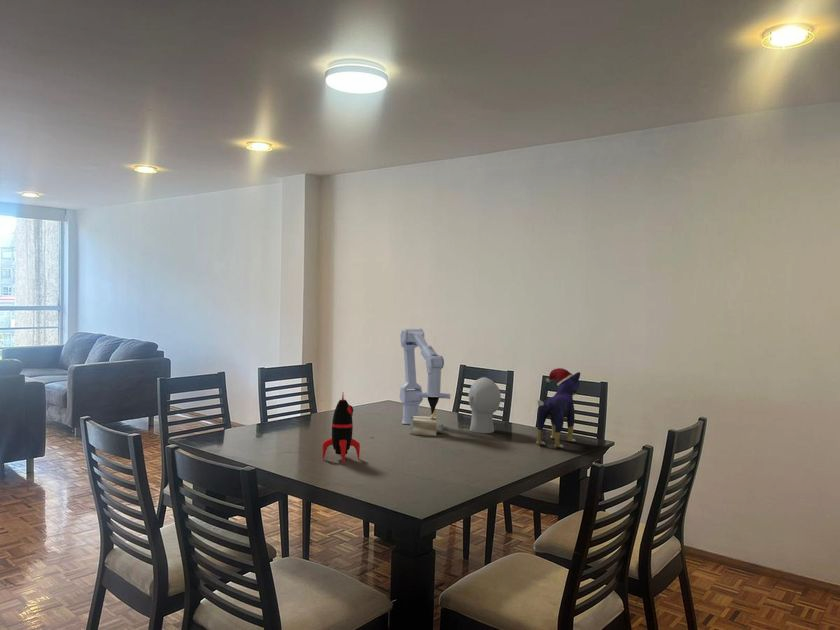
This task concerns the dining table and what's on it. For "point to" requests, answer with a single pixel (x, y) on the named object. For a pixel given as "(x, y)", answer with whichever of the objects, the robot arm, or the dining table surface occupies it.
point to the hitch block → (424, 425)
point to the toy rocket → (342, 430)
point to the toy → (559, 405)
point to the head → (483, 404)
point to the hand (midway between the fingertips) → (432, 414)
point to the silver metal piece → (439, 430)
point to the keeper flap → (433, 414)
